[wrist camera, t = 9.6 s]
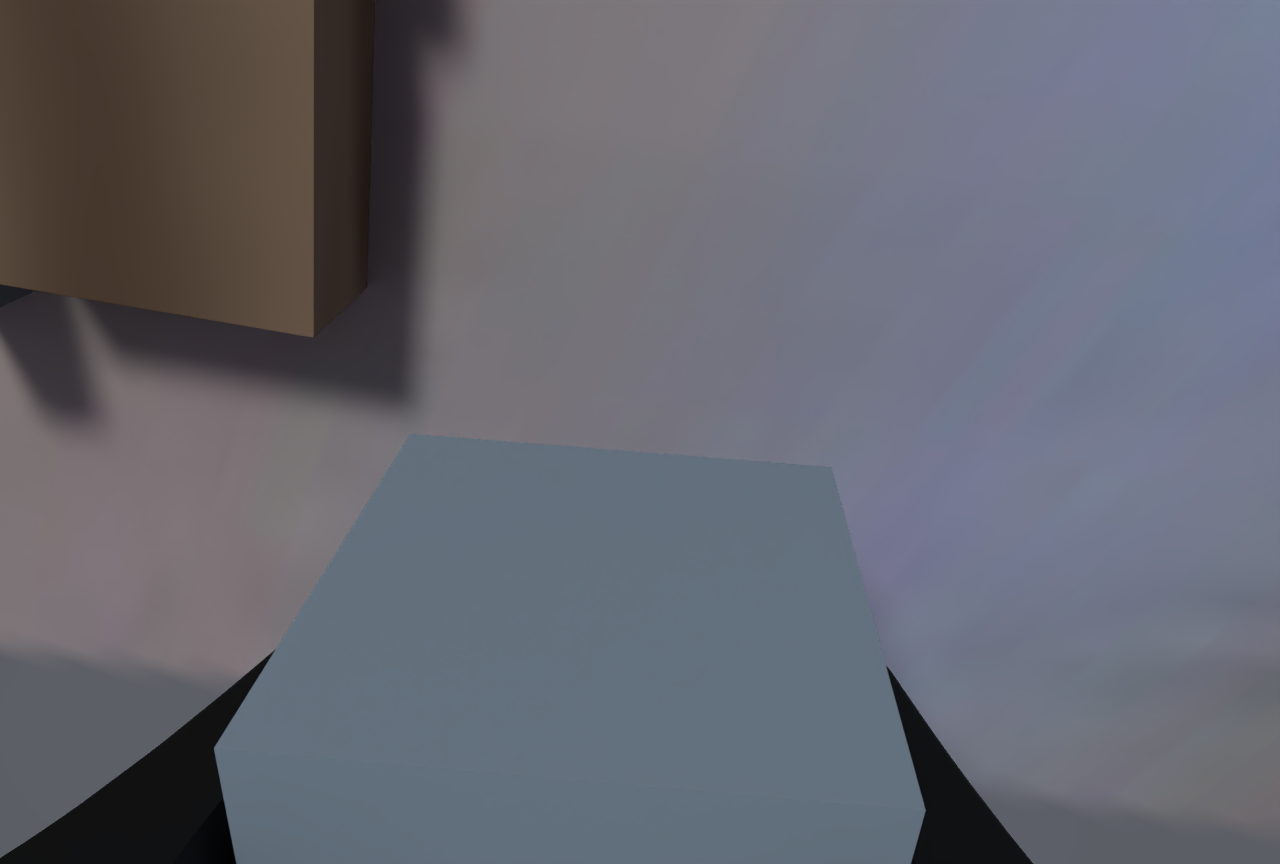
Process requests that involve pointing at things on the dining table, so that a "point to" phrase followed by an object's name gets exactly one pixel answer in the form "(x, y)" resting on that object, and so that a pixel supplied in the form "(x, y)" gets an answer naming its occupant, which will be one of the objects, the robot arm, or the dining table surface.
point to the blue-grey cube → (578, 674)
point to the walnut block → (189, 155)
